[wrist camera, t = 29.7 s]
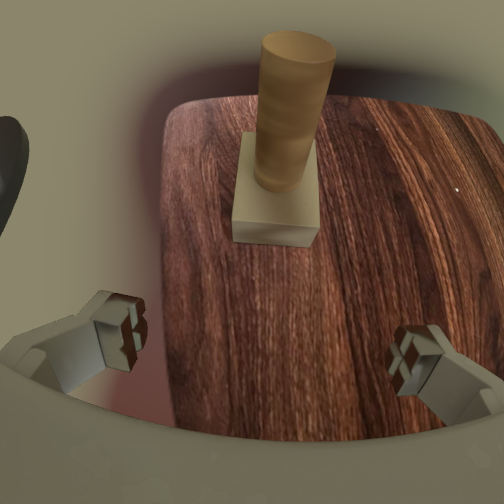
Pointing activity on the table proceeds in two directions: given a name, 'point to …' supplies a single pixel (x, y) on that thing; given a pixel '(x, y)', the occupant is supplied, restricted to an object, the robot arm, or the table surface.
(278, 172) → the stamp
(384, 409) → the table surface
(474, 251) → the table surface
